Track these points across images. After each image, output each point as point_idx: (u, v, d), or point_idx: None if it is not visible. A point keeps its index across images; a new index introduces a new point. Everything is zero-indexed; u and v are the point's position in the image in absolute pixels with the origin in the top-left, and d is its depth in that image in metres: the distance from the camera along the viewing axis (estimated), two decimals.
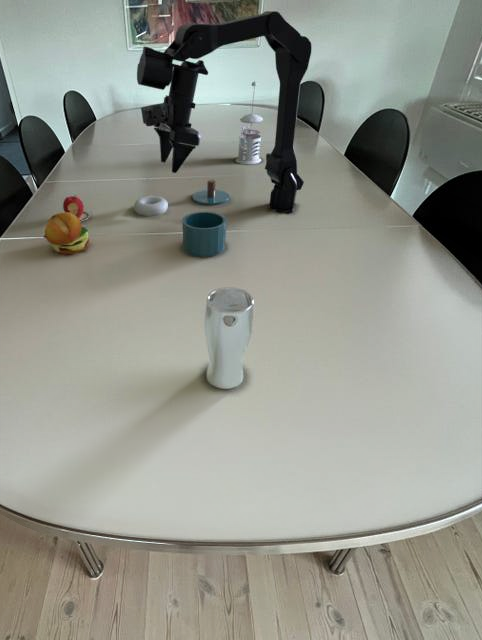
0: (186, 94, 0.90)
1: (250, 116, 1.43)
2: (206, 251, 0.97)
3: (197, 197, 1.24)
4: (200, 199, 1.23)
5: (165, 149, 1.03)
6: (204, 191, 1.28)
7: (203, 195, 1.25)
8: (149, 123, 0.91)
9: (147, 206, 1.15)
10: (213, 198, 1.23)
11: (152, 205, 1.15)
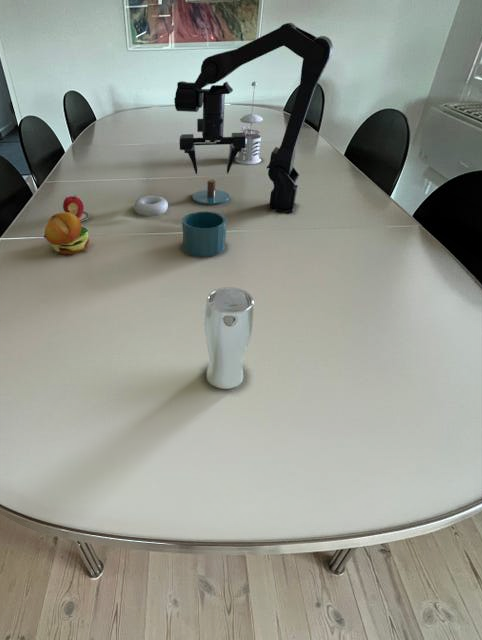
0: (210, 113, 1.07)
1: (250, 116, 1.43)
2: (206, 251, 0.97)
3: (197, 197, 1.24)
4: (200, 199, 1.23)
5: (228, 162, 1.18)
6: (204, 191, 1.28)
7: (203, 195, 1.25)
8: None
9: (147, 206, 1.15)
10: (213, 198, 1.23)
11: (152, 205, 1.15)
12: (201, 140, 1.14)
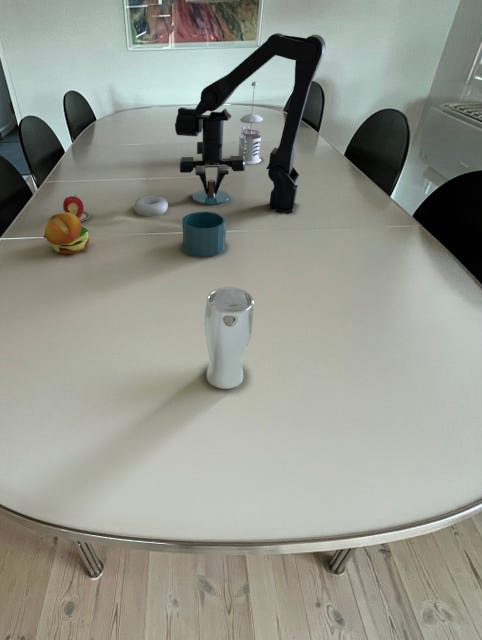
0: (209, 138, 1.11)
1: (250, 116, 1.43)
2: (206, 251, 0.97)
3: (197, 197, 1.24)
4: (200, 199, 1.23)
5: (216, 183, 1.22)
6: (204, 191, 1.28)
7: (203, 195, 1.25)
8: None
9: (147, 206, 1.15)
10: (213, 198, 1.23)
11: (152, 205, 1.15)
12: (201, 163, 1.18)
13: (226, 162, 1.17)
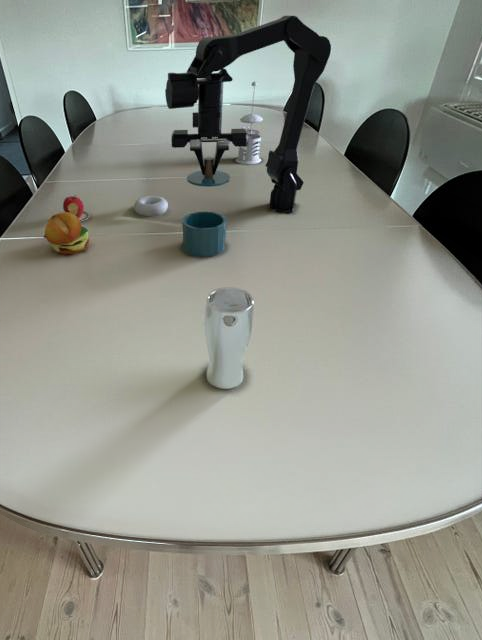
0: (214, 105, 0.94)
1: (250, 116, 1.43)
2: (206, 251, 0.97)
3: (192, 178, 1.06)
4: (196, 179, 1.05)
5: (214, 162, 1.04)
6: (201, 172, 1.10)
7: (199, 176, 1.07)
8: None
9: (147, 206, 1.15)
10: (211, 179, 1.05)
11: (152, 205, 1.15)
12: (196, 137, 1.00)
13: (226, 136, 1.00)
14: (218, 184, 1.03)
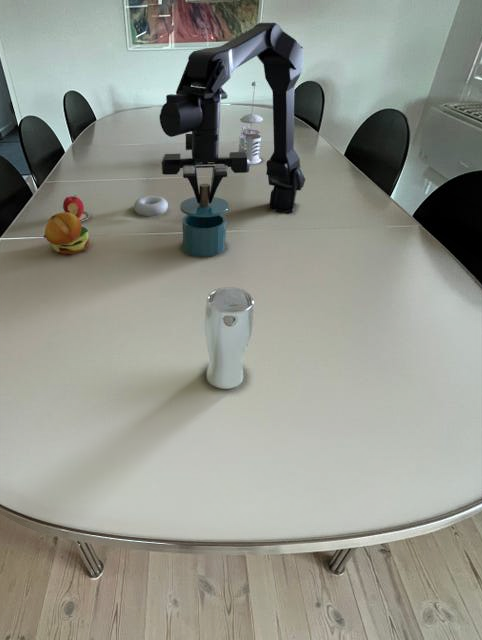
0: (216, 127, 0.82)
1: (250, 116, 1.43)
2: (206, 251, 0.97)
3: (186, 207, 0.94)
4: (190, 209, 0.93)
5: (210, 189, 0.92)
6: None
7: (194, 204, 0.95)
8: None
9: (147, 206, 1.15)
10: (207, 208, 0.93)
11: (152, 205, 1.15)
12: (190, 162, 0.88)
13: (224, 161, 0.88)
14: (215, 214, 0.91)
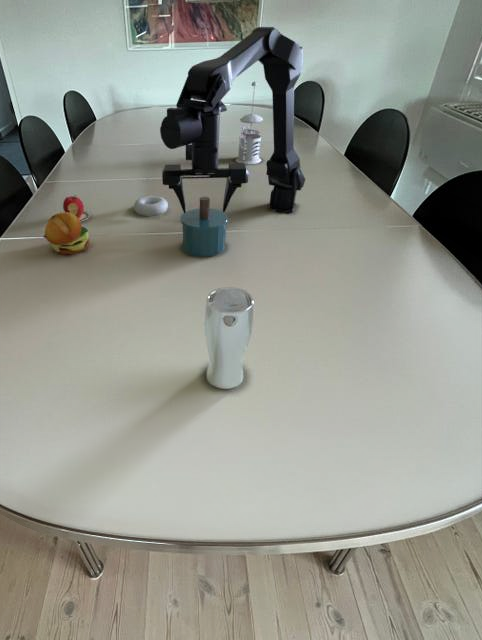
0: (215, 139, 0.83)
1: (250, 116, 1.43)
2: (206, 251, 0.97)
3: (186, 219, 0.96)
4: (190, 221, 0.95)
5: (224, 198, 0.93)
6: (196, 210, 1.00)
7: (194, 216, 0.97)
8: None
9: (147, 206, 1.15)
10: (207, 220, 0.95)
11: (152, 205, 1.15)
12: (190, 172, 0.89)
13: (223, 171, 0.89)
14: (215, 227, 0.93)
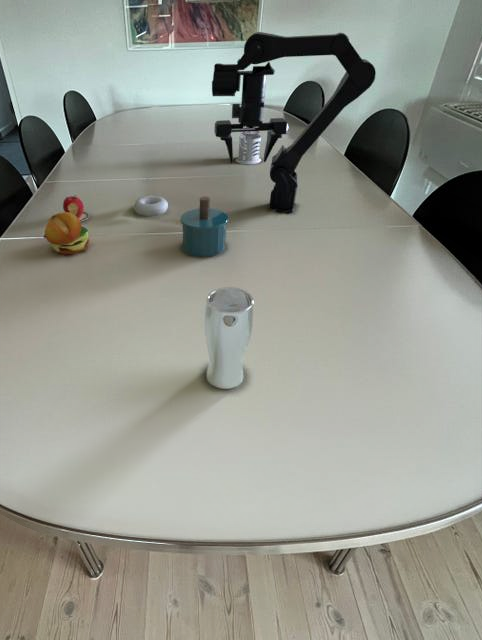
0: (252, 96, 1.00)
1: None
2: (206, 251, 0.97)
3: (186, 219, 0.96)
4: (190, 221, 0.95)
5: (265, 149, 1.11)
6: (196, 210, 1.00)
7: (194, 216, 0.97)
8: None
9: (147, 206, 1.15)
10: (207, 220, 0.95)
11: (152, 205, 1.15)
12: (238, 126, 1.06)
13: (267, 125, 1.06)
14: (215, 227, 0.93)
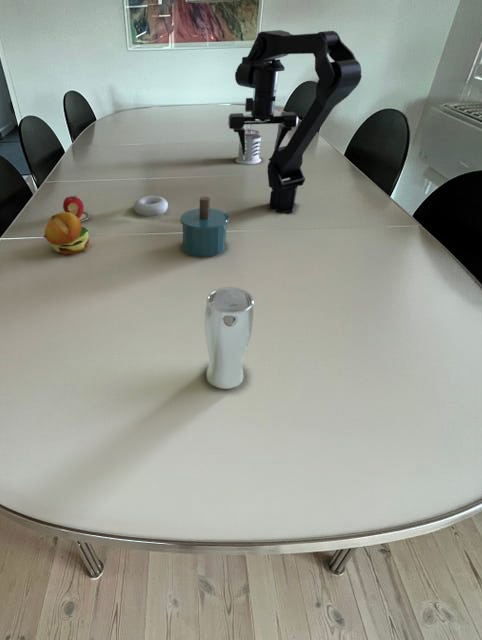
0: (257, 90, 1.08)
1: (250, 116, 1.43)
2: (206, 251, 0.97)
3: (186, 219, 0.96)
4: (190, 221, 0.95)
5: (276, 141, 1.17)
6: (196, 210, 1.00)
7: (194, 216, 0.97)
8: None
9: (147, 206, 1.15)
10: (207, 220, 0.95)
11: (152, 205, 1.15)
12: (251, 119, 1.13)
13: (278, 118, 1.13)
14: (215, 227, 0.93)
